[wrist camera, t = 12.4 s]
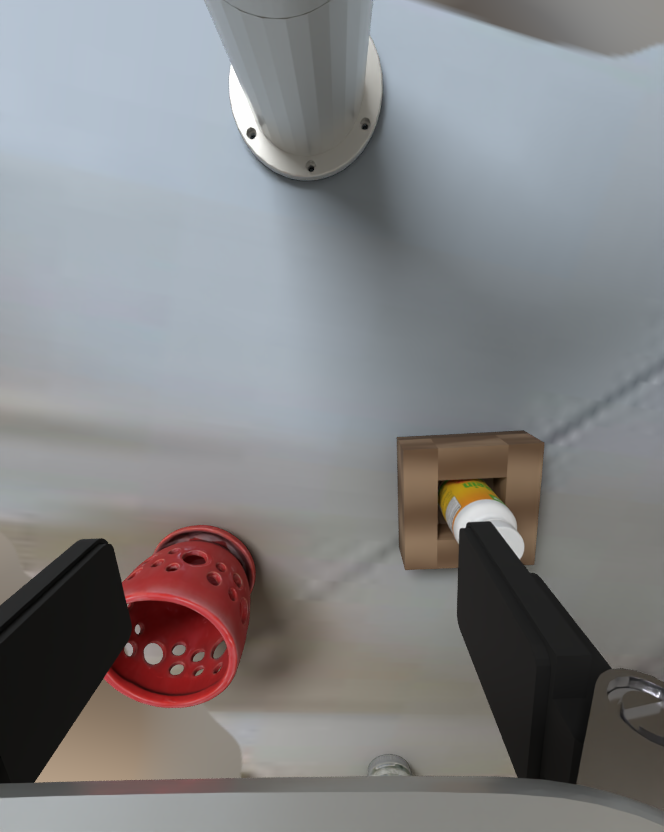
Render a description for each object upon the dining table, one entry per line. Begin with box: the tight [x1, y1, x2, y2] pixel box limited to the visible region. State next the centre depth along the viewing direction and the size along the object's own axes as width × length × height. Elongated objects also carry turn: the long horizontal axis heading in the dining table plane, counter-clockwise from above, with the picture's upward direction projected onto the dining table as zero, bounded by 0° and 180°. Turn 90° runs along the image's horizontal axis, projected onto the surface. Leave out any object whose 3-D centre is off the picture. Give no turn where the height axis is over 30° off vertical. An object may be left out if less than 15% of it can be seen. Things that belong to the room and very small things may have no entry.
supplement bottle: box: [438, 478, 524, 559], centre depth 34 cm, size 5×5×10 cm
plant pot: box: [104, 525, 256, 708], centre depth 37 cm, size 13×13×12 cm
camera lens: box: [368, 755, 412, 776], centre depth 46 cm, size 6×6×8 cm
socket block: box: [397, 431, 544, 570], centre depth 38 cm, size 13×13×4 cm
